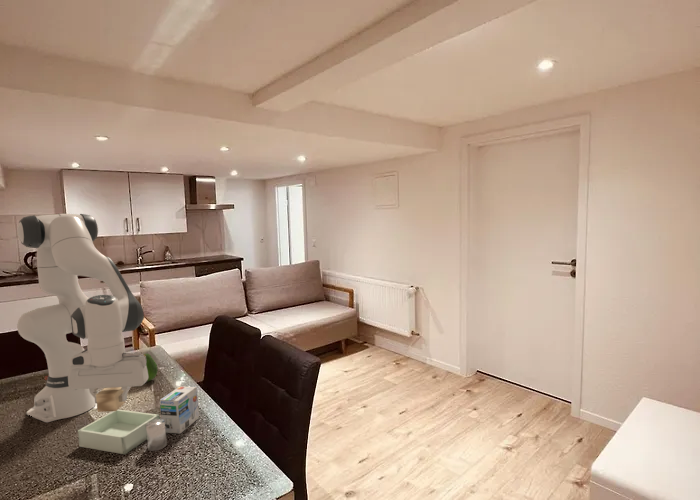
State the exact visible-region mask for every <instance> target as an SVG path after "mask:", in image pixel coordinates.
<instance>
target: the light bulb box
mask: <svg viewBox="0 0 700 500" xmlns="http://www.w3.org/2000/svg"><path fill="white" fill-rule="evenodd" d="M159 405H160V406H159V407H160V408H159V409H160V416H161V417H160V419H163V420H165V429H166V434H182V433H183V432H184V431H185V430H187V429H188V428H189V427H190V426H191V425H193V424H194V423H195V422H196V421H197V420H198V419H199V418H200V413H199V410H200V409H199V400H198V389H197V386H184V385H183V386H182V385H181V386H178V387H177V388H174V390H173V391H170V392H169V393H168V394H166V395H165V396H163V397H162V398H160V399H159Z"/></svg>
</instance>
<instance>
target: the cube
mask: <svg viewBox="0 0 700 500" xmlns="http://www.w3.org/2000/svg"><path fill="white" fill-rule="evenodd" d="M98 392H99V393H98V394H96V399H97V403H96V407H97V409H96V410H97V413H102V412H103V413H105V412H112V411H117V410H118V409H119V410H120V409H121V407H122V406H124V404H125V403H126V401H125V402H119V396H120V395H121V394H123V392H124V390H122V387H113V388H102V389H101V390H100V391H98Z"/></svg>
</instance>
